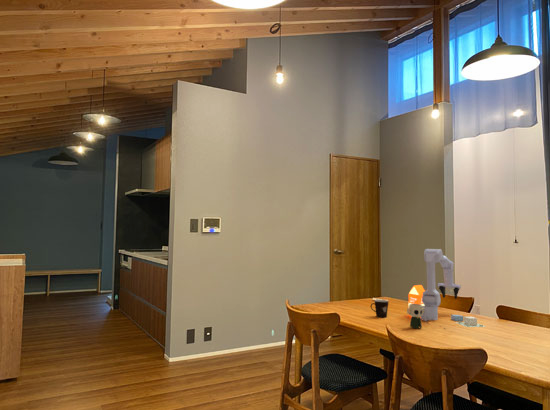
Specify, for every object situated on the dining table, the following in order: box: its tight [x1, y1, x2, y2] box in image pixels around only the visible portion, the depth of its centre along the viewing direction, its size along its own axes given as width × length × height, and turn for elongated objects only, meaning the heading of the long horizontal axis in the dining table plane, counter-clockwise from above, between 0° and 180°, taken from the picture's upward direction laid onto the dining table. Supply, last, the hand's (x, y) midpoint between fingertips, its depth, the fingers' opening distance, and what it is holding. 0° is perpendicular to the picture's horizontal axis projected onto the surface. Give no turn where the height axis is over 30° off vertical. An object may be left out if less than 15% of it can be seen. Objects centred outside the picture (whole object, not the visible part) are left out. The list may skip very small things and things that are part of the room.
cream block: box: [463, 316, 478, 326], centre depth 239 cm, size 5×5×4 cm
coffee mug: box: [370, 299, 389, 319], centre depth 263 cm, size 12×9×10 cm
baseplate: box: [454, 321, 487, 328], centre depth 239 cm, size 12×12×2 cm
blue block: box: [450, 314, 464, 322], centre depth 251 cm, size 5×5×4 cm
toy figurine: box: [406, 303, 424, 329], centre depth 232 cm, size 11×7×13 cm, turn 106°
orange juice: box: [408, 284, 425, 318], centre depth 266 cm, size 8×9×20 cm
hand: (449, 297), depth 278 cm, fingers open, 7 cm apart
